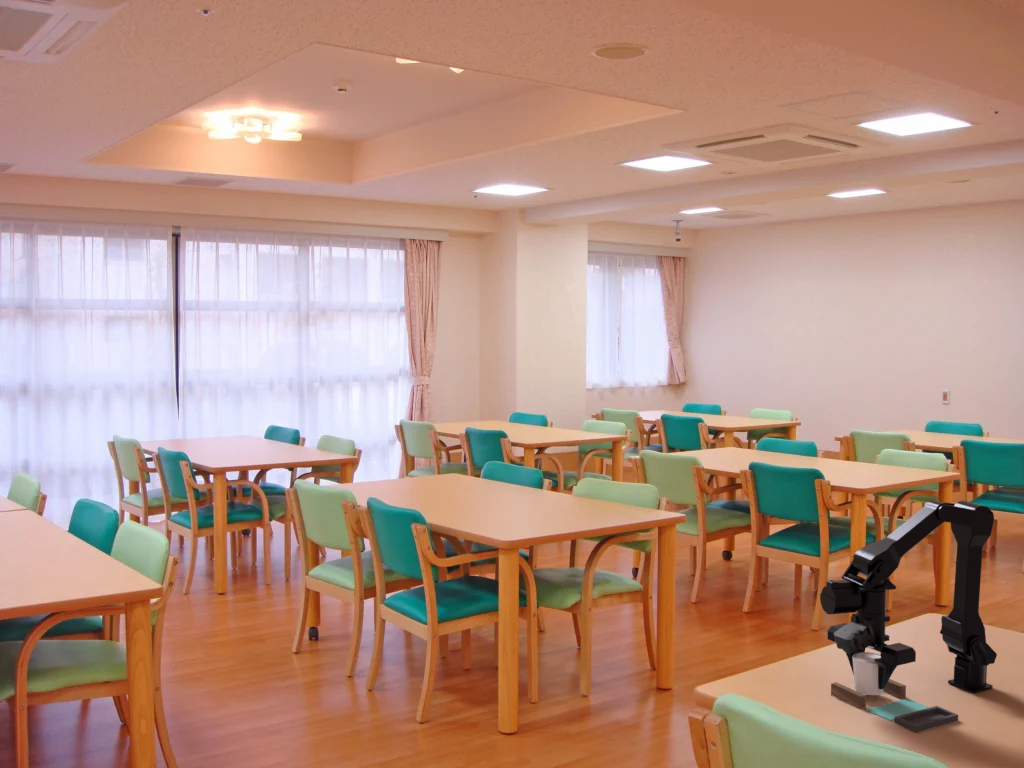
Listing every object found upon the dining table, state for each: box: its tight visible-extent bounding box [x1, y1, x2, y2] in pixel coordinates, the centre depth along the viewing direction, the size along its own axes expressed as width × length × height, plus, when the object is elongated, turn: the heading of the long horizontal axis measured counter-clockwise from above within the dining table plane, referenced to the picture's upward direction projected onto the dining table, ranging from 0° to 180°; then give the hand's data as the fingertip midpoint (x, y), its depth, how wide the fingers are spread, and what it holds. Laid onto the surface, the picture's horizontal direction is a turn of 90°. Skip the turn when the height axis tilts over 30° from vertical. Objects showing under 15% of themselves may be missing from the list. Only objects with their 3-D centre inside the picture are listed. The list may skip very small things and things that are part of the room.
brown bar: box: [830, 678, 907, 710], centre depth 204 cm, size 13×8×2 cm, turn 118°
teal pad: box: [866, 698, 930, 722], centre depth 197 cm, size 12×6×1 cm, turn 118°
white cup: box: [852, 651, 884, 696], centre depth 204 cm, size 7×7×7 cm
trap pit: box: [894, 705, 959, 733], centre depth 191 cm, size 12×5×1 cm, turn 118°
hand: (869, 683), depth 204 cm, fingers closed on white cup, 6 cm apart
